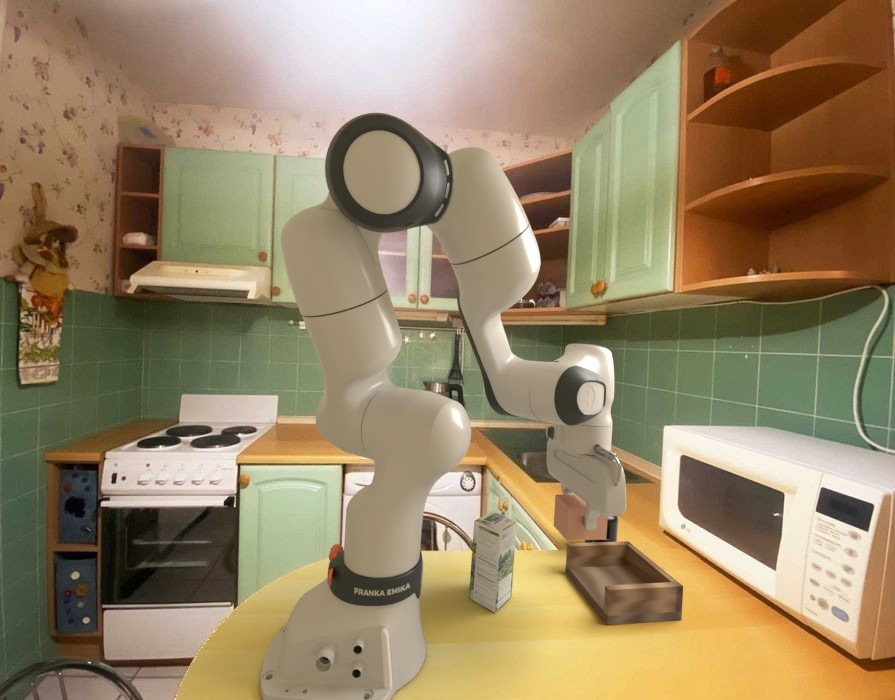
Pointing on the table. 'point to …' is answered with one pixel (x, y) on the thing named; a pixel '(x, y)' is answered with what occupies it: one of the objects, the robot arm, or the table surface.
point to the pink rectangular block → (576, 519)
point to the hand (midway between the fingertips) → (579, 518)
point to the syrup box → (492, 560)
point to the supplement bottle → (609, 530)
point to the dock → (623, 583)
